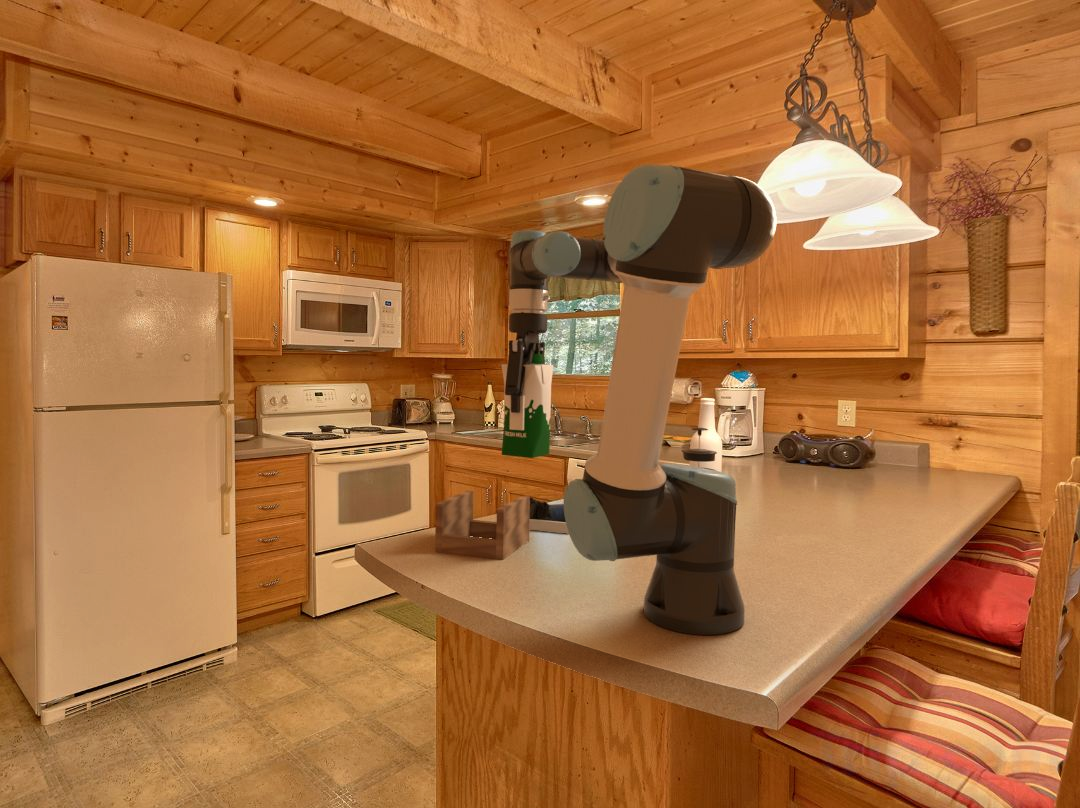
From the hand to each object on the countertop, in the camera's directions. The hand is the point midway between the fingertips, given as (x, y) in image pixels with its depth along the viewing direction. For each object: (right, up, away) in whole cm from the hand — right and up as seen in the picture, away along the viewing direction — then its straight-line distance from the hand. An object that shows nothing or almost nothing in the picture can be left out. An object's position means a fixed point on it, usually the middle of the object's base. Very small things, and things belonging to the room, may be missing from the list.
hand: (525, 427), depth 130 cm
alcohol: (+49, -24, +56) cm, 78 cm away
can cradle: (+6, -25, +29) cm, 39 cm away
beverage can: (+6, -25, +29) cm, 39 cm away
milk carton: (0, -6, 0) cm, 6 cm away
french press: (+44, -25, +41) cm, 66 cm away
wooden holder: (-9, -26, +9) cm, 29 cm away
